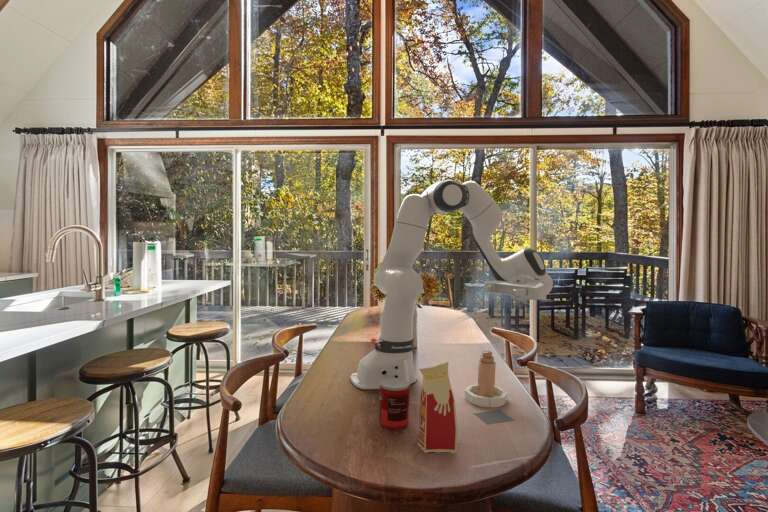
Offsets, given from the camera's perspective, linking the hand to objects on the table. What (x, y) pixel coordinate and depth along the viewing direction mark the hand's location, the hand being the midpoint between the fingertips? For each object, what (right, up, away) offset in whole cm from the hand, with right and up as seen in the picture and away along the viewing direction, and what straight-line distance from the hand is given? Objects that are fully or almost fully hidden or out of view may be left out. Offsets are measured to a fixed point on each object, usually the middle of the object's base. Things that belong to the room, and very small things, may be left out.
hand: (501, 291), depth 138 cm
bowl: (-7, -32, -8) cm, 34 cm away
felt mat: (-8, -33, -21) cm, 40 cm away
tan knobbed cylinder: (-7, -32, -8) cm, 33 cm away
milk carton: (-25, -34, -35) cm, 55 cm away
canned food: (-35, -33, -25) cm, 54 cm away
